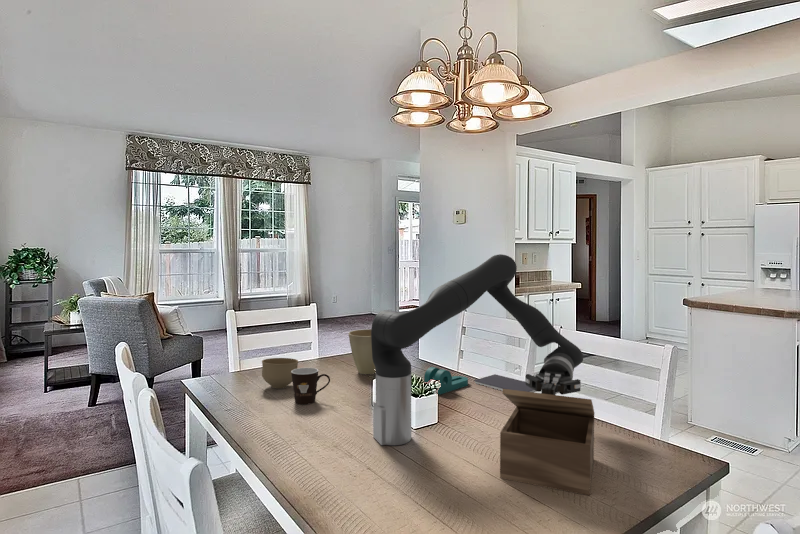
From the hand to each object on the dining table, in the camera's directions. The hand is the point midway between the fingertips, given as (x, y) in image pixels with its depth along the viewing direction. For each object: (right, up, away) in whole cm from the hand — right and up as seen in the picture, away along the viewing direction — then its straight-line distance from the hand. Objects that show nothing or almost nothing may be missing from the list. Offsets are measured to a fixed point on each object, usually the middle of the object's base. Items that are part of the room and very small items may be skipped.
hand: (547, 393), depth 105 cm
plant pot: (-45, -15, +86) cm, 98 cm away
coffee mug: (-61, -16, +50) cm, 81 cm away
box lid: (+2, -4, +4) cm, 6 cm away
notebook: (+6, -16, +67) cm, 69 cm away
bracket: (-15, -16, +66) cm, 69 cm away
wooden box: (+1, -18, +4) cm, 18 cm away
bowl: (-75, -16, +66) cm, 101 cm away
